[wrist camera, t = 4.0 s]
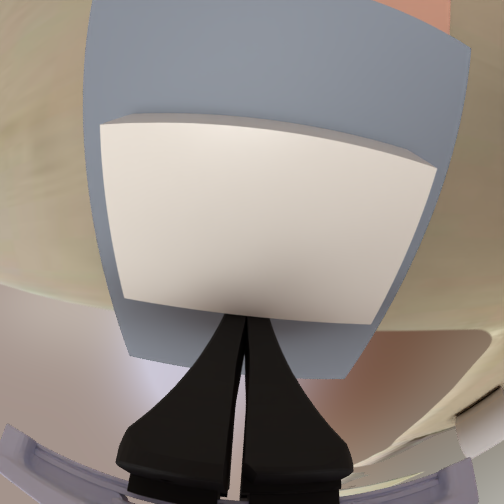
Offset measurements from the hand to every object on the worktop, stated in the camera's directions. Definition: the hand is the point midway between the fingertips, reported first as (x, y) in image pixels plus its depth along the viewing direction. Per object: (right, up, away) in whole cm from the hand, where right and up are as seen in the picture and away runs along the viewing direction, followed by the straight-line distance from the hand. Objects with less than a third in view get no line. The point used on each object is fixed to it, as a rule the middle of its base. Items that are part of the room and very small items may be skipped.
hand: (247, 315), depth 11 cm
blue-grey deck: (+1, +5, +2) cm, 6 cm away
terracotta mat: (+2, +19, -7) cm, 21 cm away
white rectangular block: (+1, +4, -2) cm, 4 cm away
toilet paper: (+41, -24, +20) cm, 52 cm away
